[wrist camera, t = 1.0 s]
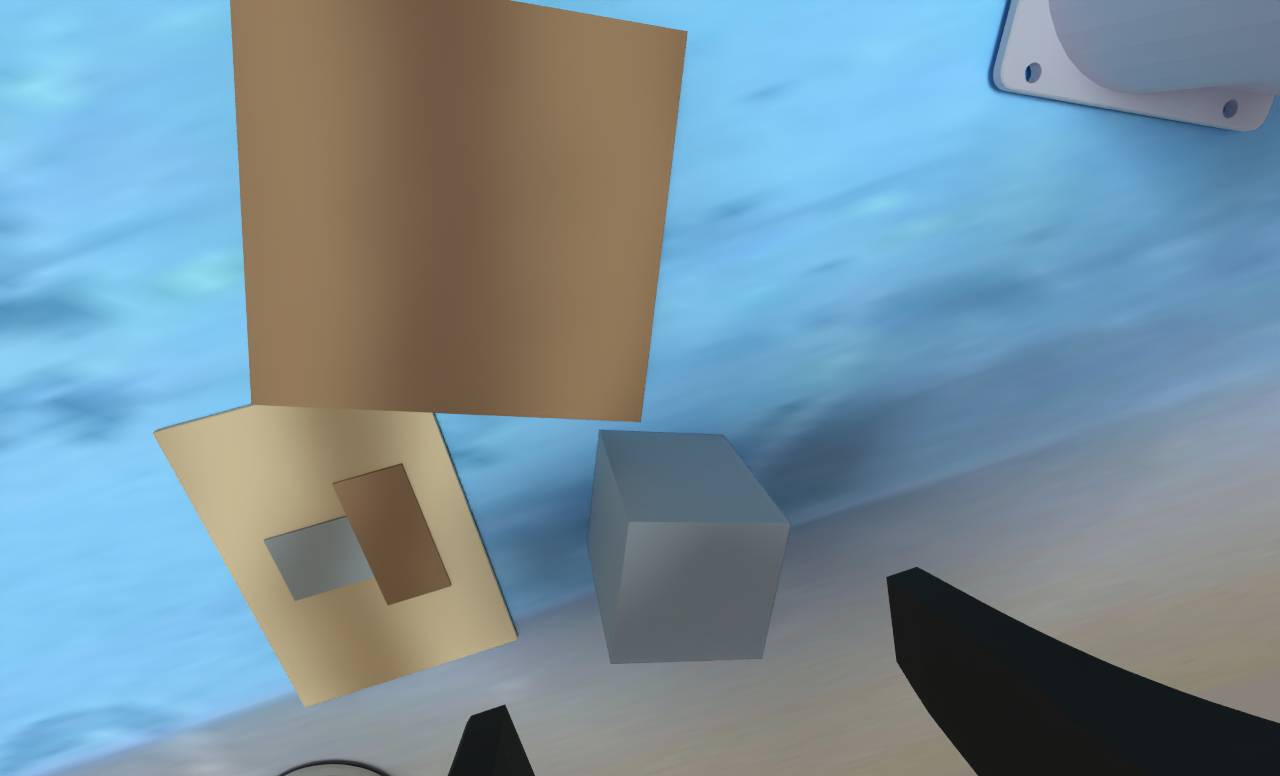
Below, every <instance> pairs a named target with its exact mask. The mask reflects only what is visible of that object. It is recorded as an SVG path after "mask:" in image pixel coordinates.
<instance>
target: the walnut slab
mask: <svg viewBox="0 0 1280 776" xmlns="http://www.w3.org/2000/svg"><path fill="white" fill-rule="evenodd" d="M230 7H231V26H232V45H233V64H234V83H235V102H236V121H237V140H238V159H239V178H240V197H241V216H242V235H243V254H244V273H245V292H246V311H247V330H248V349H249V368H250V387H251V405H266V406H289V407H312V408H335V409H358V410H380V411H403V412H426V413H449V414H472V415H495V416H517V417H540V418H563V419H586V420H609V421H632V422H641V416H642V408H643V399H644V391H645V383H646V374H647V366H648V358H649V349H650V341H651V333H652V324H653V316H654V308H655V299H656V291H657V283H658V274H659V266H660V258H661V249H662V241H663V233H664V224H665V216H666V208H667V199H668V191H669V183H670V174H671V166H672V158H673V149H674V141H675V133H676V124H677V116H678V108H679V99H680V91H681V82H682V74H683V66H684V57H685V49H686V41H687V32H688V31H682V30H676V29H671V28H665V27H659V26H653V25H648V24H642V23H636V22H631V21H625V20H619V19H613V18H608V17H602V16H596V15H591V14H585V13H579V12H573V11H568V10H562V9H556V8H551V7H545V6H539V5H533V4H528V3H522V2H516V1H511V0H230Z"/></svg>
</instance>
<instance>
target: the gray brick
mask: <svg viewBox="0 0 1280 776" xmlns="http://www.w3.org/2000/svg"><path fill="white" fill-rule="evenodd" d="M790 525H791V523H790V522H789V520H788V519H787V518H786V516H785V515H784V514H783V512H782V511H781V510H780V509H779V507H778V506H777V505H776V503H775V502H774V501H773V499H772V498H771V497H770V495H769V494H768V493H767V492H766V490H765V489H764V488H763V486H762V485H761V484H760V482H759V481H758V480H757V478H756V477H755V476H754V475H753V473H752V472H751V471H750V469H749V468H748V467H747V465H746V464H745V463H744V461H743V460H742V459H741V458H740V456H739V455H738V454H737V452H736V451H735V450H734V448H733V447H732V446H731V444H730V443H729V442H728V441H727V439H726V438H725V437H724V435H715V434H690V433H665V432H640V431H616V430H599V435H598V444H597V454H596V463H595V472H594V482H593V491H592V500H591V510H590V519H589V528H588V537H587V547H588V552H589V557H590V562H591V567H592V572H593V577H594V582H595V588H596V593H597V598H598V603H599V608H600V613H601V618H602V623H603V628H604V633H605V638H606V643H607V648H608V653H609V658H610V663H611V664H622V663H651V662H679V661H708V660H737V659H762V656H763V651H764V646H765V642H766V637H767V632H768V628H769V623H770V618H771V614H772V609H773V604H774V600H775V595H776V590H777V586H778V581H779V577H780V572H781V567H782V563H783V558H784V553H785V549H786V544H787V539H788V535H789V530H790Z"/></svg>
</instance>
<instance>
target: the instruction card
mask: <svg viewBox="0 0 1280 776" xmlns="http://www.w3.org/2000/svg"><path fill="white" fill-rule="evenodd" d="M153 434H154V436H155V438H156V440H157V442H158V443H159V445H160V447H161V449H162V451H163V452H164V454H165V456H166V458H167V460H168V461H169V463H170V465H171V467H172V469H173V470H174V472H175V474H176V476H177V478H178V479H179V481H180V483H181V485H182V487H183V488H184V490H185V492H186V494H187V496H188V497H189V499H190V501H191V503H192V505H193V506H194V508H195V510H196V512H197V514H198V515H199V517H200V519H201V521H202V523H203V524H204V526H205V528H206V530H207V532H208V533H209V535H210V537H211V539H212V541H213V542H214V544H215V546H216V548H217V550H218V551H219V553H220V555H221V557H222V559H223V560H224V562H225V564H226V566H227V568H228V569H229V571H230V573H231V575H232V577H233V578H234V580H235V582H236V584H237V586H238V587H239V589H240V591H241V593H242V595H243V596H244V598H245V600H246V602H247V604H248V605H249V607H250V609H251V611H252V613H253V614H254V616H255V618H256V620H257V622H258V623H259V625H260V627H261V629H262V631H263V632H264V634H265V636H266V638H267V640H268V641H269V643H270V645H271V647H272V649H273V650H274V652H275V654H276V656H277V658H278V659H279V661H280V663H281V665H282V667H283V668H284V670H285V672H286V674H287V676H288V677H289V679H290V681H291V683H292V685H293V686H294V688H295V690H296V692H297V694H298V695H299V697H300V699H301V701H302V703H303V704H304V706H305V707H308V706H311V705H314V704H317V703H320V702H324V701H327V700H330V699H333V698H336V697H339V696H342V695H346V694H349V693H352V692H355V691H358V690H361V689H365V688H368V687H371V686H374V685H377V684H380V683H383V682H387V681H390V680H393V679H396V678H399V677H402V676H406V675H409V674H412V673H415V672H418V671H421V670H424V669H428V668H431V667H434V666H437V665H440V664H443V663H447V662H450V661H453V660H456V659H459V658H462V657H465V656H469V655H472V654H475V653H478V652H481V651H484V650H488V649H491V648H494V647H497V646H500V645H503V644H506V643H510V642H513V641H516V640H518V635H517V633H516V630H515V627H514V625H513V622H512V620H511V617H510V614H509V612H508V609H507V606H506V604H505V601H504V598H503V596H502V593H501V590H500V588H499V585H498V582H497V580H496V577H495V574H494V572H493V569H492V566H491V564H490V561H489V558H488V556H487V553H486V550H485V548H484V545H483V542H482V540H481V537H480V534H479V532H478V529H477V526H476V524H475V521H474V518H473V516H472V513H471V510H470V508H469V505H468V502H467V500H466V497H465V495H464V492H463V489H462V487H461V484H460V481H459V479H458V476H457V473H456V471H455V468H454V465H453V463H452V460H451V457H450V455H449V452H448V449H447V447H446V444H445V441H444V439H443V436H442V433H441V431H440V428H439V425H438V423H437V420H436V417H435V415H434V413H426V412H403V411H380V410H358V409H335V408H312V407H289V406H266V405H251V404H250V405H247V406H243V407H239V408H236V409H232V410H228V411H225V412H221V413H217V414H214V415H210V416H206V417H203V418H199V419H195V420H191V421H188V422H184V423H180V424H177V425H173V426H169V427H166V428H162V429H158V430H156V431H155V432H153Z"/></svg>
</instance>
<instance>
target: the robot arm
mask: <svg viewBox="0 0 1280 776" xmlns="http://www.w3.org/2000/svg"><path fill="white" fill-rule="evenodd" d="M1027 66H1029V67H1030V69H1031V77H1030V79H1029V81H1028V82H1027V81H1026V79H1025V70H1026V68H1027ZM993 79H994V83H995V84H996V86H997V87H998V88H999V89H1001V90H1003V91H1008V92H1013V93H1019V94H1025V95H1031V96H1037V97H1042V98H1048V99H1054V100H1060V101H1065V102H1071V103H1077V104H1083V105H1089V106H1094V107H1100V108H1106V109H1112V110H1117V111H1123V112H1129V113H1135V114H1141V115H1146V116H1152V117H1158V118H1164V119H1169V120H1175V121H1181V122H1187V123H1193V124H1198V125H1204V126H1210V127H1216V128H1221V129H1227V130H1233V131H1254V130H1255V129H1257V128H1259V127H1260V126H1261V125H1262V124H1263V123H1264V122H1265V120H1266V118H1267V116H1268V114H1269V111H1270V109H1271V106H1272V103H1273V101H1274V98H1275V96H1276V95H1280V0H1011V4H1010V8H1009V12H1008V16H1007V20H1006V23H1005V27H1004V31H1003V35H1002V39H1001V43H1000V47H999V51H998V54H997V58H996V62H995V66H994V71H993ZM1224 106H1225V110H1224V112H1223V108H1224ZM886 578H887V586H888V594H889V603H890V611H891V619H892V627H893V636H894V644H895V652H896V661H897V663H898V664H899V666H900V668H901V669H902V671H903V673H904V674H905V676H906V678H907V679H908V681H909V682H910V684H911V686H912V687H913V689H914V691H915V692H916V694H917V695H918V697H919V698H920V700H921V702H922V703H923V705H924V706H925V708H926V709H927V711H928V712H929V714H930V715H931V716H932V718H933V719H934V720H935V722H936V723H937V724H938V725H939V727H940V728H941V729H942V731H943V732H944V733H945V734H946V736H947V737H948V738H949V739H950V741H951V742H952V743H953V745H954V746H955V747H956V748H957V750H958V751H959V752H960V753H961V755H962V756H963V757H964V758H965V760H966V761H967V762H968V764H969V765H970V766H971V767H972V769H973V770H974V771H975V772H976V774H977V775H978V776H1280V723H1276V722H1274V721H1270V720H1267V719H1263V718H1260V717H1257V716H1254V715H1251V714H1248V713H1245V712H1241V711H1239V710H1235V709H1232V708H1229V707H1226V706H1223V705H1220V704H1217V703H1213V702H1210V701H1208V700H1204V699H1202V698H1199V697H1196V696H1193V695H1190V694H1187V693H1185V692H1182V691H1179V690H1176V689H1174V688H1171V687H1168V686H1166V685H1163V684H1161V683H1158V682H1155V681H1153V680H1150V679H1147V678H1145V677H1142V676H1140V675H1137V674H1134V673H1132V672H1129V671H1127V670H1124V669H1122V668H1120V667H1117V666H1115V665H1112V664H1110V663H1107V662H1105V661H1103V660H1101V659H1098V658H1096V657H1094V656H1092V655H1089V654H1087V653H1085V652H1083V651H1080V650H1078V649H1076V648H1074V647H1072V646H1069V645H1067V644H1065V643H1063V642H1061V641H1058V640H1056V639H1054V638H1052V637H1050V636H1048V635H1046V634H1044V633H1042V632H1040V631H1038V630H1036V629H1034V628H1032V627H1029V626H1027V625H1025V624H1024V623H1022V622H1020V621H1018V620H1016V619H1014V618H1012V617H1010V616H1008V615H1006V614H1004V613H1002V612H1000V611H998V610H996V609H994V608H992V607H990V606H989V605H987V604H985V603H983V602H981V601H979V600H977V599H976V598H974V597H972V596H970V595H968V594H966V593H964V592H963V591H961V590H959V589H957V588H955V587H953V586H951V585H950V584H948V583H946V582H944V581H942V580H940V579H939V578H937V577H935V576H933V575H931V574H929V573H928V572H926V571H924V570H922V569H920V568H918V567H915V568H912V569H909V570H906V571H903V572H900V573H897V574H894V575H891V576H888V577H886ZM448 776H535V775H534V772H533V770H532V768H531V765H530V763H529V760H528V758H527V756H526V753H525V751H524V748H523V746H522V744H521V741H520V739H519V736H518V734H517V732H516V729H515V727H514V725H513V722H512V720H511V717H510V715H509V713H508V710H507V708H506V705H502V706H499V707H496V708H493V709H490V710H487V711H484V712H481V713H478V714H475V715H472V716H471V717H470V719H469V720H468V722H467V724H466V727H465V729H464V732H463V735H462V738H461V741H460V744H459V746H458V749H457V752H456V755H455V757H454V760H453V763H452V766H451V768H450V771H449V774H448Z"/></svg>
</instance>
